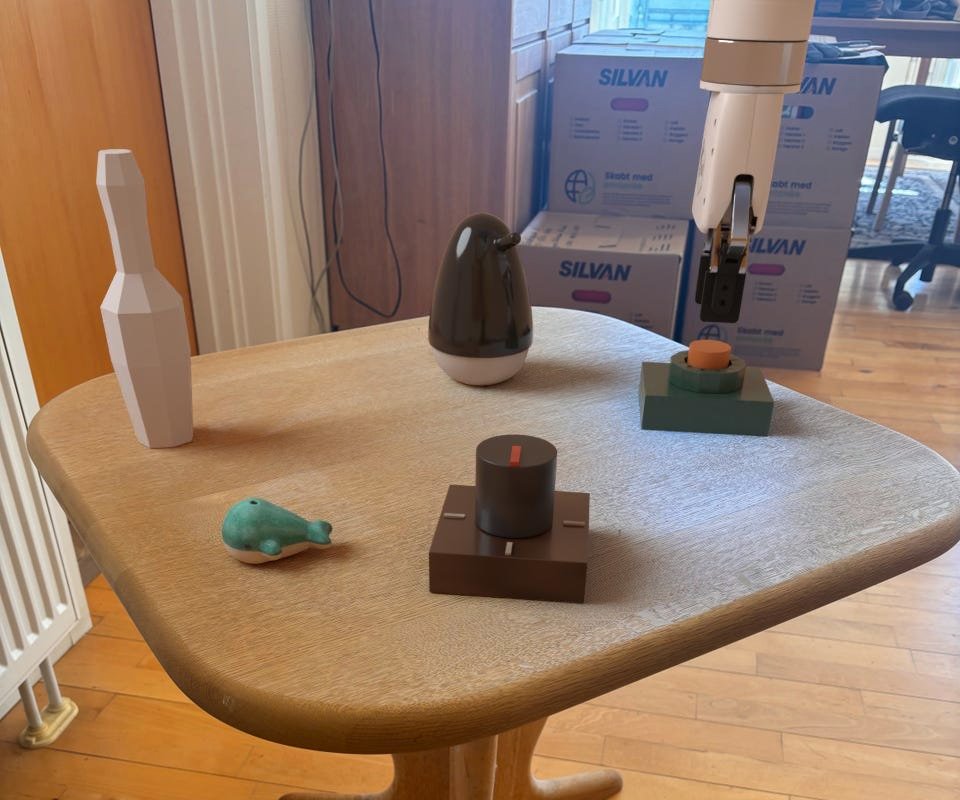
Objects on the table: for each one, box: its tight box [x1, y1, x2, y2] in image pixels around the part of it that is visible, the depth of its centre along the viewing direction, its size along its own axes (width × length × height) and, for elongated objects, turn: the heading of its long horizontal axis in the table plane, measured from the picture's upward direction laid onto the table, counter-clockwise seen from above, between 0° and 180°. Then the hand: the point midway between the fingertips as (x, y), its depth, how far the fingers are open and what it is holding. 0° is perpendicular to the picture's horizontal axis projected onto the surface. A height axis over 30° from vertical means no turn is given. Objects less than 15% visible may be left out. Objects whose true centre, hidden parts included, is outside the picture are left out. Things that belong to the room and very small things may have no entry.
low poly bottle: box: [95, 148, 194, 449], centre depth 76 cm, size 6×6×22 cm
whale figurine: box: [221, 497, 333, 565], centre depth 66 cm, size 6×7×4 cm
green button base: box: [637, 349, 775, 438], centre depth 88 cm, size 11×9×5 cm
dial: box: [474, 434, 558, 538], centre depth 63 cm, size 5×5×5 cm
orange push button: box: [687, 339, 732, 369], centre depth 86 cm, size 4×4×2 cm
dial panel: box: [428, 484, 591, 604], centre depth 65 cm, size 10×10×3 cm
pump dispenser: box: [427, 212, 534, 386], centre depth 92 cm, size 10×10×15 cm
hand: (715, 310), depth 84 cm, fingers open, 4 cm apart
